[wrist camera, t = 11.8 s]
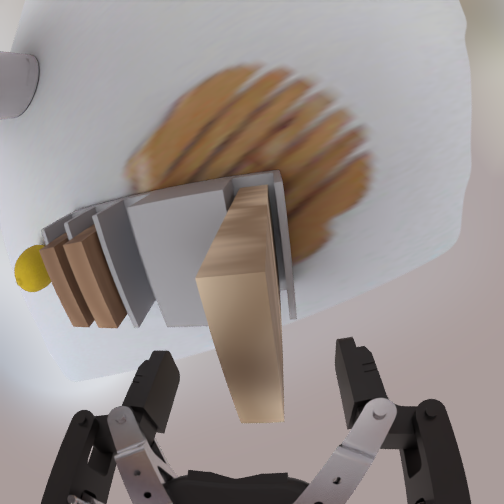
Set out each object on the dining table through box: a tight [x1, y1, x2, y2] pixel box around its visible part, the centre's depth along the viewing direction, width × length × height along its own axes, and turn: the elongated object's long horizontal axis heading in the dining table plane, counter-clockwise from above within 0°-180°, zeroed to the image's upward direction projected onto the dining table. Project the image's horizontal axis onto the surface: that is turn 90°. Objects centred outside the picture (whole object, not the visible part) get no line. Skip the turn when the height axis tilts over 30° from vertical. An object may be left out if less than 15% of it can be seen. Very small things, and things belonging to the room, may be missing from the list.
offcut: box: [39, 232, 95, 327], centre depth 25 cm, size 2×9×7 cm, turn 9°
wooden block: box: [195, 184, 284, 423], centre depth 19 cm, size 2×10×16 cm, turn 8°
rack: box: [41, 170, 297, 328], centre depth 26 cm, size 24×12×6 cm, turn 99°
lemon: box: [15, 245, 51, 292], centre depth 27 cm, size 6×6×8 cm
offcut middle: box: [63, 224, 127, 328], centre depth 25 cm, size 2×9×7 cm, turn 9°
